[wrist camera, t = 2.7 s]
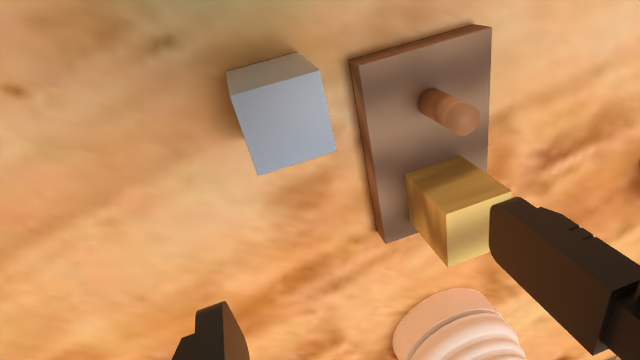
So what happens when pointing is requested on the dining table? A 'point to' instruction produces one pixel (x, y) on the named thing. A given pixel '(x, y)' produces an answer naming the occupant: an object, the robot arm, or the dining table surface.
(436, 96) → the brown wooden stand
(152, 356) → the dining table surface
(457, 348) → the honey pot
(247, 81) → the pale grey cube
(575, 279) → the robot arm
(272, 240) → the dining table surface
